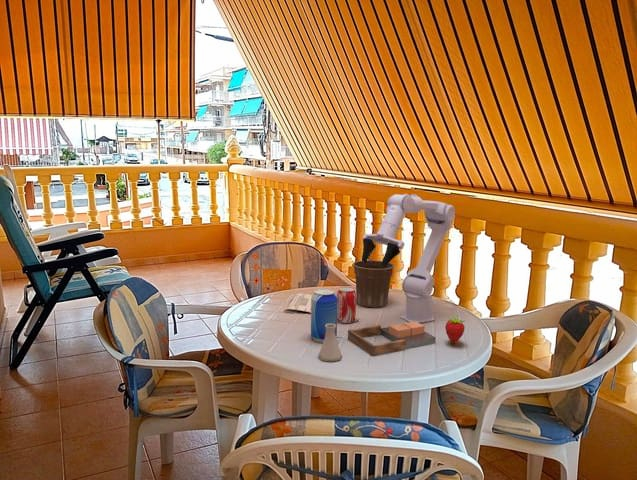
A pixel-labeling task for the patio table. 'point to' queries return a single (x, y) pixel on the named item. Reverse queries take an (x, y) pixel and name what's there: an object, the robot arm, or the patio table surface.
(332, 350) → the flask
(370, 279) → the plant pot
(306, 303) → the newspaper
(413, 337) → the grey plate
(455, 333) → the strawberry
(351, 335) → the box
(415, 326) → the tile
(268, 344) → the patio table surface
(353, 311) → the soda can
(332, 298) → the beer can
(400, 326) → the tile
